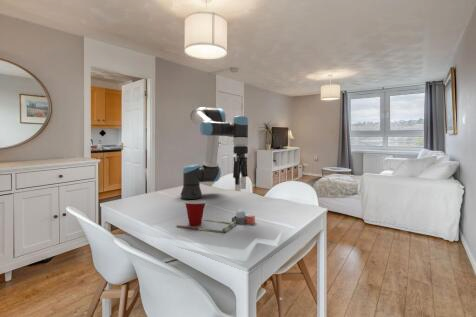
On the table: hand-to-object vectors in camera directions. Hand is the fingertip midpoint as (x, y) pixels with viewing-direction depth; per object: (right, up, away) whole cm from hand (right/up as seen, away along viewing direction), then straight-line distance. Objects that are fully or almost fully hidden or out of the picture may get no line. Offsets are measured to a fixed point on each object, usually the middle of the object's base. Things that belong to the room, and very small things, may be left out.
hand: (240, 189), depth 127 cm
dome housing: (+2, -17, -1) cm, 17 cm away
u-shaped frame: (-17, -17, -6) cm, 25 cm away
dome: (0, -15, 0) cm, 15 cm away
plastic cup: (-23, -17, -4) cm, 29 cm away
